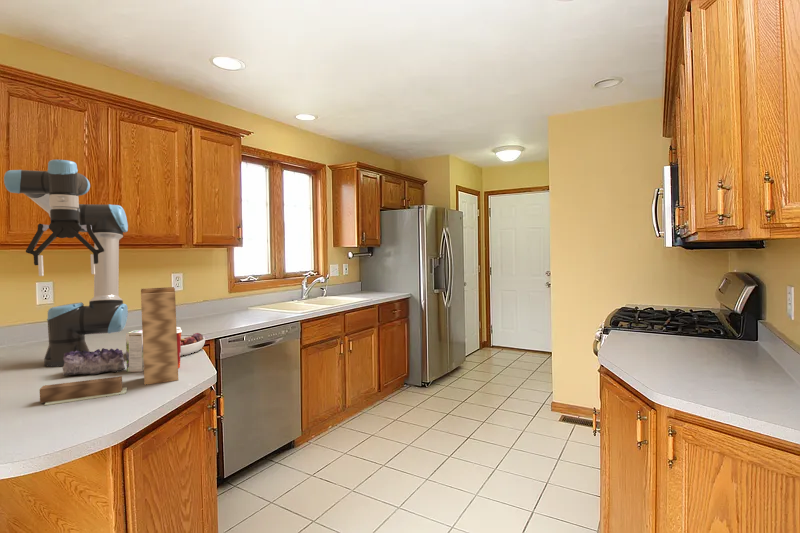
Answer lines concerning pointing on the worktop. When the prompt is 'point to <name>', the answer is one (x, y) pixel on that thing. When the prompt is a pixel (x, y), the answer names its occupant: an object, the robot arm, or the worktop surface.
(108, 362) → the geode
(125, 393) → the sage mat
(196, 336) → the bowl
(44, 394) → the walnut bar
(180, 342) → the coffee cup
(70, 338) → the robot arm
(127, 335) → the syrup box
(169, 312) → the oak pedestal
